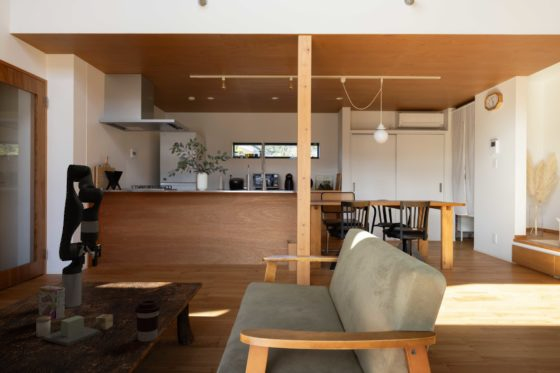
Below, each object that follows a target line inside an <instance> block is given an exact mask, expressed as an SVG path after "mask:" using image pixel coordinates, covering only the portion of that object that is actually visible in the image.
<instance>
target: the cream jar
mask: <svg viewBox="0 0 560 373" xmlns="http://www.w3.org/2000/svg"><path fill="white" fill-rule="evenodd" d="M35 322H36V326H35V327H36V330H35V332H36V334H35V335H36V337H38V338H40V337H41V338H43V336H46V335H49V334H51V331H50V322H51V316H41V317H39V316H37V317H36V318H35Z"/></svg>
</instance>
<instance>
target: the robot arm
mask: <svg viewBox="0 0 560 373" xmlns="http://www.w3.org/2000/svg"><path fill="white" fill-rule="evenodd" d="M93 179H94V178H93V173H92V169H91V167H90V166H88V165H85V164H84V165H83V164H74V163H73V164H69V165H68V167H67V169H66V188H65V190H66V191H65V200H64V201H65V202H64V209H63V220H62V221H63V222H62V232H61V238H60V241H59V242H60V243H59V246H58V257H59V260H60V261H61V262H69V261H70V263H69V264H68V265H66V266H64V267H63V268H62V270H61V287H62V288H65V309H68V308H69V309H70V308H75V307H78V306H80V305H82V295H83V294H82V291H83V290H82V285H83V283H82V282H83V279H82V278H83V267H84V265H85V264H86V255H87V253H88V254H89V255H90V256H91V258H92V259H91V267H93V268H95V267H97V266H98V259H99V258H102V244H100V243H99V244H97V241H99V233H100V232H99V231H100V227H99V226H100V224H99V216H100V215H99V214H100V208H101V205H102V202H103V200H104V191H103V189H101V188H99V187H96V185H95V183H94V181H93ZM75 183H77V187H78V190H79V191H78V193H77V191H76V189H75V185H74V184H75ZM84 204H93V205H92V206H91V207H85V206H84ZM79 227H80V234H79V235H80V236H79V240H80V241H78V242H72V239H73V235H74V234H75V233H76V231H77V229H78V228H79Z"/></svg>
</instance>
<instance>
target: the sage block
mask: <svg viewBox="0 0 560 373" xmlns="http://www.w3.org/2000/svg"><path fill="white" fill-rule="evenodd" d="M84 327H85V317H84V316H81V315H75V316H71V317H68V318H66V319H65V320H62V321H61V330H60V331H61V335H62V336H66V337H70V336H72V335H75V334H78V333H81V332H83V331H84Z"/></svg>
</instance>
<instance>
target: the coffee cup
mask: <svg viewBox="0 0 560 373" xmlns="http://www.w3.org/2000/svg"><path fill="white" fill-rule="evenodd" d="M161 308H162V307H161V304H160V303H158V302H157V301H156V300H153V299H149V300H142V301H140V302H139V303H138V304H137V305H135V307H134V312H135V313H136V315H135V316H136V317H135V318H136V320H135V321H136V330H137V339H138V340H137V341H139V342H142V343H148V342H153V341H154V340H156V339H157V338H158V337H157V336H158V329H159V322H160V321H159V320H160V312H159V311H160V310H161Z"/></svg>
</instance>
